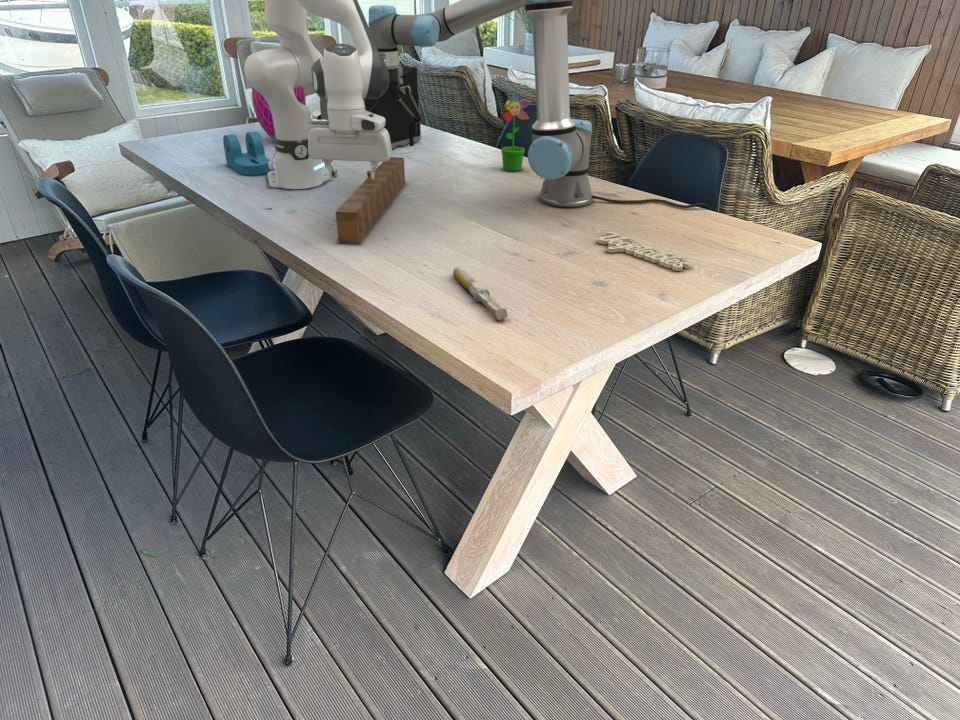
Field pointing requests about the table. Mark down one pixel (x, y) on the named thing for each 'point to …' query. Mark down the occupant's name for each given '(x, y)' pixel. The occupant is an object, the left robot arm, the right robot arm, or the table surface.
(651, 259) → the decorative sign
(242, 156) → the camera mount
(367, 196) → the bar
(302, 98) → the decorative egg
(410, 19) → the right robot arm
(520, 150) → the potted flower
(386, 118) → the grey black box
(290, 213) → the table surface
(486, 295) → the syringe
